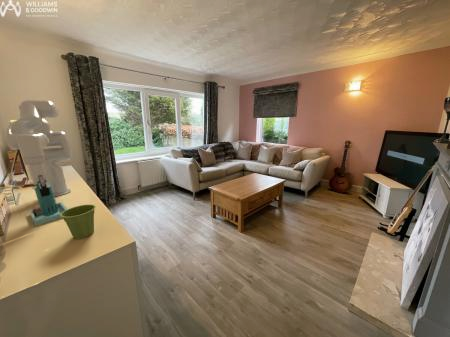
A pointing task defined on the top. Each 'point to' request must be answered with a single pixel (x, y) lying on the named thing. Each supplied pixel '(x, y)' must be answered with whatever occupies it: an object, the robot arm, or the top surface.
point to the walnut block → (37, 211)
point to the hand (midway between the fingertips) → (44, 193)
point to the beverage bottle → (46, 202)
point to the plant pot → (80, 220)
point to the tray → (45, 219)
